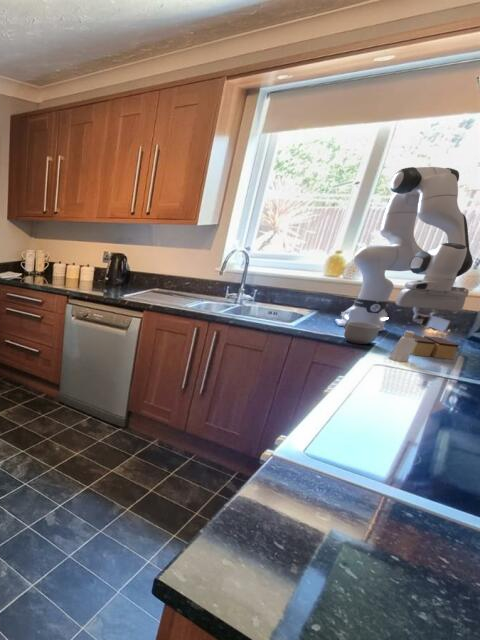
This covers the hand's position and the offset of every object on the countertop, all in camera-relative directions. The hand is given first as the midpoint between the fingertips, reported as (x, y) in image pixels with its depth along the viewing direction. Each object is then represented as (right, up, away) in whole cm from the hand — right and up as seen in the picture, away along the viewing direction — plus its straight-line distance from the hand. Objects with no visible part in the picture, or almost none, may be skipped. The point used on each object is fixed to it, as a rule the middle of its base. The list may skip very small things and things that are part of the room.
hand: (421, 319), depth 176 cm
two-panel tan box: (-5, -15, -5) cm, 16 cm away
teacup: (-20, -9, +9) cm, 24 cm away
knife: (-3, -4, -5) cm, 7 cm away
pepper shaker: (-25, -18, -15) cm, 35 cm away
